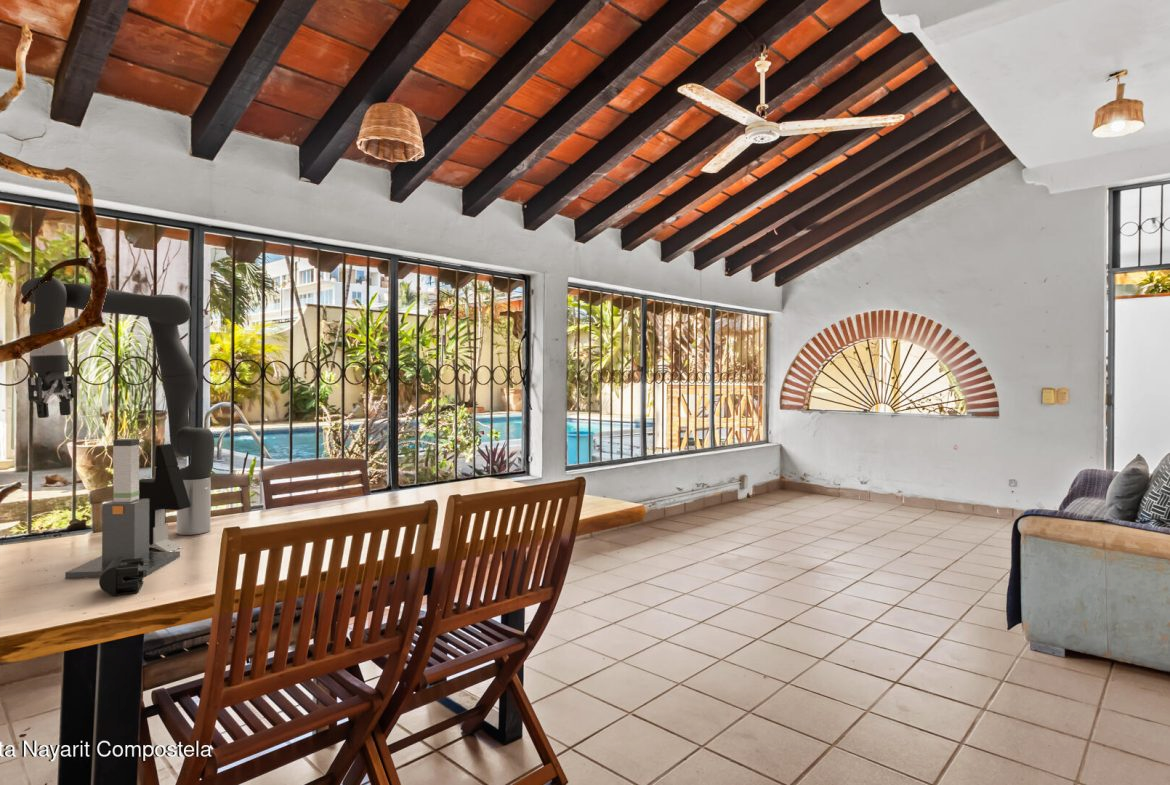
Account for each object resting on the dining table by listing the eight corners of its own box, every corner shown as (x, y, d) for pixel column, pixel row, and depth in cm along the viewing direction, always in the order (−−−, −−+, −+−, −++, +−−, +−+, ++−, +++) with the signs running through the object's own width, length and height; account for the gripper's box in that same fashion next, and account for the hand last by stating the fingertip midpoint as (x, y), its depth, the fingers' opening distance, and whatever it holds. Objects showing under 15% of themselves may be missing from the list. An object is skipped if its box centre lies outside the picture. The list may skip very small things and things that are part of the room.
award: (191, 548, 187) (192, 444, 187) (178, 552, 182) (178, 445, 182) (142, 546, 189) (143, 443, 188) (128, 550, 184) (128, 444, 183)
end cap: (107, 586, 152) (107, 557, 152) (143, 582, 155) (144, 554, 155) (98, 599, 143) (98, 568, 143) (137, 594, 146) (137, 564, 146)
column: (121, 534, 169) (122, 438, 169) (139, 534, 170) (139, 438, 170) (113, 538, 165) (113, 440, 165) (130, 538, 166) (131, 440, 166)
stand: (107, 558, 175) (107, 495, 175) (179, 556, 178) (180, 494, 178) (65, 578, 157) (65, 508, 157) (146, 576, 160) (146, 507, 160)
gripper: (46, 353, 162) (51, 418, 163) (82, 354, 176) (87, 413, 177) (13, 354, 161) (19, 419, 162) (52, 355, 175) (57, 415, 176)
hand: (54, 416), depth 170 cm, fingers open, 8 cm apart
